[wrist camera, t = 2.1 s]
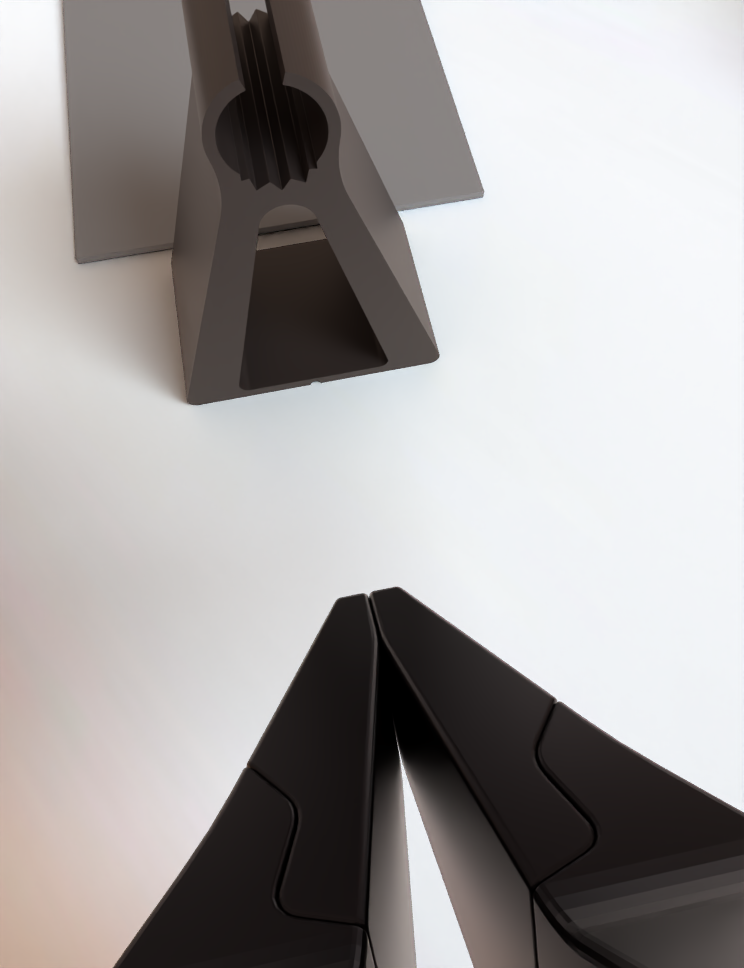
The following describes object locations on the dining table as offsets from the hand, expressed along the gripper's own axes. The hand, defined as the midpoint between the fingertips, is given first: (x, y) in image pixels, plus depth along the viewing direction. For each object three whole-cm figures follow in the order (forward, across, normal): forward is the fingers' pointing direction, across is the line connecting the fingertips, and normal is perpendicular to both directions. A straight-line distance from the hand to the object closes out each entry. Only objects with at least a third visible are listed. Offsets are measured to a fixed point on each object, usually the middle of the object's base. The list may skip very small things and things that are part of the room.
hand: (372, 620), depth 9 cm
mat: (+28, 0, -10) cm, 30 cm away
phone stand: (+19, 0, -1) cm, 19 cm away
